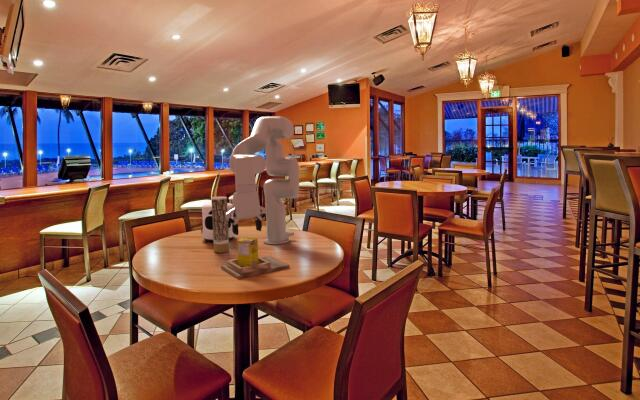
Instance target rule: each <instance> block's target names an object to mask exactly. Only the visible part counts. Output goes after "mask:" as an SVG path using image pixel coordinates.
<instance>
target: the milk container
mask: <svg viewBox="0 0 640 400" xmlns="http://www.w3.org/2000/svg"><path fill="white" fill-rule="evenodd" d="M231 209H232V203H229V202H227V210H228V211H230V210H231ZM201 213H202V214H201V215H202V225H201V229H200V231H201V232H200V233H201V237H202V239H203V240H205V241H208V242H214V240H213V219H212V202H211V203H206V204H203V205H202V206H201ZM230 217H231V218H232V219H233V218H234V217H233V216H232V214H231V215H230ZM228 234H229V240H232V239H233V238H235V236H236V235H235V234H234V233H233V231H232V224H231V223H230V222H229V221H228Z"/></svg>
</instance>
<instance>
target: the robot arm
mask: <svg viewBox="0 0 640 400" xmlns="http://www.w3.org/2000/svg"><path fill="white" fill-rule="evenodd" d="M294 129H295V128H294V124H293V122H292V121H291V120H290V119H288V118H287V117H285V116H281V115H274V116H273V115H272V116H266V115H265V116H260V117H259V118H257V119H256V121H255V123H254V125H253V128H252V130H251V133H250V136H249V137H247V138H245V139H243V140H242V141H241V142H239V143H238V144H236V146H235V147H234V148H233V150H232V152H231V154H230V158H229V161H228V166H229V169H230V171H231V172H232V173H234V180H235V192H233V195H232V203H231V204H232V209H231V210H230V211H228V212H227V213H225V216H226V218H227V220H228V221H229V222H230V223H231V224H232V231H233V233H234V234H235V236H238V235H239V225H238V223H239V221H240V220H244V219H246V220H247V219H253V218H255V219H256V220H255V230H256V231H259V232H262V226H263V224H262V221H263V220H264V218H265V220H266V221H265V223H266V238H264V239H263V243H265V244H268V245H282V244H283V245H285V244H288V243H289V242H290V238H289V237H294V236H295V232H294V231H292V232H290V231H289V232H288V231H286V229H287V228H286V206H285V203H284V202H283V201H282V200H281V199H296V198H298V196H299V194H300V168H299V167H300V166H299V162H298V161H299V160H298V159H297V158H296V157H294V156H284V147H283V146H284V145H283V143H282V142H281V141H280V140H284V139H285V140H287V139H289V140H290V139H291V138H292V137H293V136H294V132H295V131H294ZM279 139H280V140H279ZM262 151H265V157H264V156H263V155H260V154H257V153H259V152H262ZM265 170H266V174H267V175H268V176H271V177H288V178H271V179H270V178H269V179H267V180H266V181H265V182H264V183H263V193H264V198H265V207H264V206H261V205H260V197H259V193H258V191H257V189H258V188H259V187H260V186H259V184H256V175H257V174H258V175H259V174H261V173H262V174H263V173H264V171H265ZM231 214H232V216H233V219H232V218H231V217H230V215H231Z"/></svg>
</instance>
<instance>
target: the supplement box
mask: <svg viewBox="0 0 640 400" xmlns="http://www.w3.org/2000/svg"><path fill="white" fill-rule="evenodd" d="M258 241H259V239H258V237H257V238H256V237H247V236H246V237H242V238H240V239H237V240H236V247H237V248H236V249H237V251H236V252H237V259H238V266H240V267H246V266H251V265H256V264H258V257H259V246H258V244H259V242H258Z"/></svg>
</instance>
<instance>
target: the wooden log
mask: <svg viewBox="0 0 640 400" xmlns="http://www.w3.org/2000/svg"><path fill="white" fill-rule="evenodd" d="M211 203H212V219H213V240H214V241H213V251H214V252H215V253H218V254H219V253H220V254H221V253H227V252H229V250H230V242H229V241H230V239H229V234H228V220H227V218H226V216H225V213H227V212H228V210H227V203H228V197H227V196H212V197H211Z"/></svg>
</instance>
